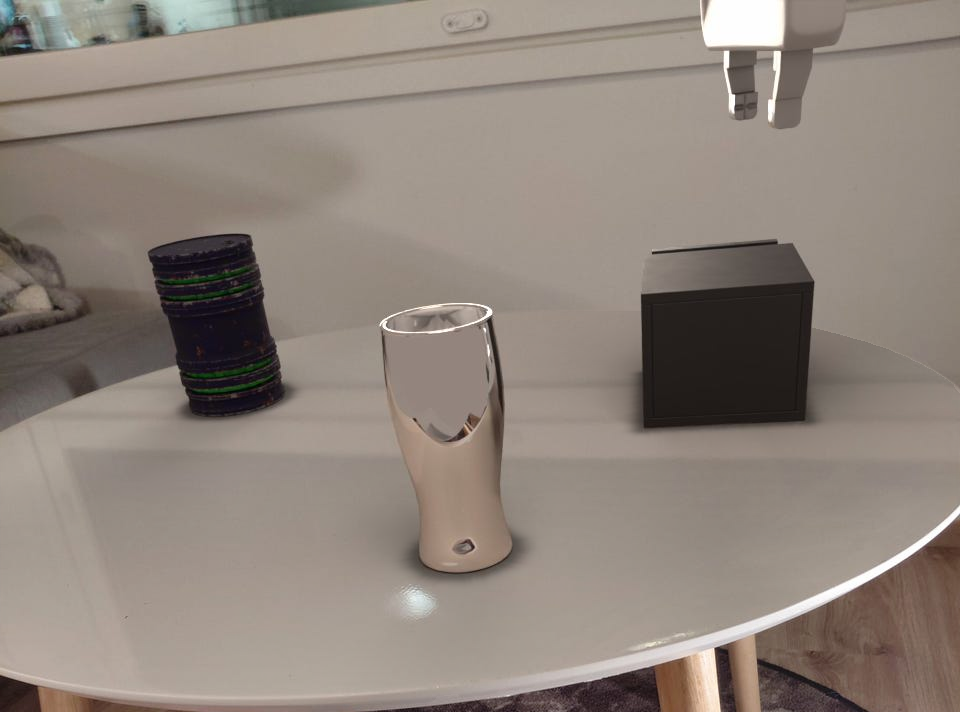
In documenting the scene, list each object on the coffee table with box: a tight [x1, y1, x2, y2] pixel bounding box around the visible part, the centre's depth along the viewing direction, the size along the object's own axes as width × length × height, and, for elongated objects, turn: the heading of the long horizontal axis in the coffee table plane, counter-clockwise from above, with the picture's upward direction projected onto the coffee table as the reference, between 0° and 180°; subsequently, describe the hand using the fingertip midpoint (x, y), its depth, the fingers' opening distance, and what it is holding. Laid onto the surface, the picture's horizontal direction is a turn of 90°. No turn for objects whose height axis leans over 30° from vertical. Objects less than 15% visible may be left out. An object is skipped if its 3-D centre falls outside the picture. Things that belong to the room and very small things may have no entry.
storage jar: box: [147, 232, 286, 418], centre depth 95 cm, size 10×10×15 cm
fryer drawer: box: [651, 238, 779, 255], centre depth 90 cm, size 18×11×9 cm, turn 171°
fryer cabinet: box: [640, 242, 816, 429], centre depth 81 cm, size 15×13×11 cm
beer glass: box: [379, 302, 513, 574], centre depth 60 cm, size 7×7×15 cm
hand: (762, 123), depth 70 cm, fingers open, 8 cm apart
